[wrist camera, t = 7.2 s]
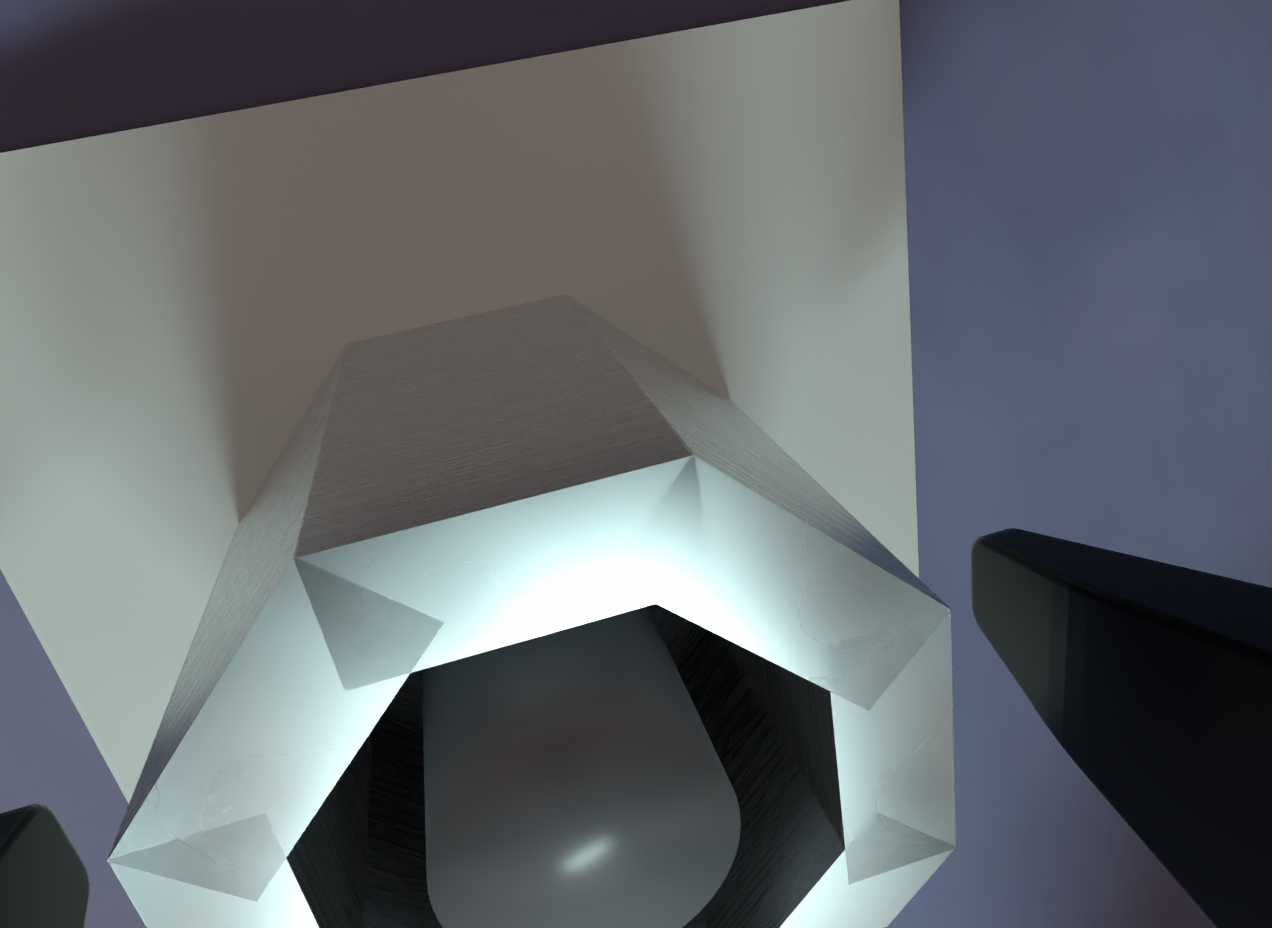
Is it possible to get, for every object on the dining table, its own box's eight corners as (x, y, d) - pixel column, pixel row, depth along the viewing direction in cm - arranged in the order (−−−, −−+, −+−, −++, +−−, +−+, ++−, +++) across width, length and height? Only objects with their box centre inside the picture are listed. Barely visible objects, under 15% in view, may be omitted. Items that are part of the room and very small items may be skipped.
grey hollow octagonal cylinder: (766, 670, 13) (958, 979, 8) (349, 794, 12) (315, 1216, 7) (712, 260, 10) (946, 389, 6) (180, 380, 9) (-25, 640, 5)
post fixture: (894, 715, 15) (1163, 1057, 10) (236, 918, 14) (123, 1463, 8) (857, 1, 11) (1323, -96, 5) (-147, 180, 9) (-978, 310, 4)
